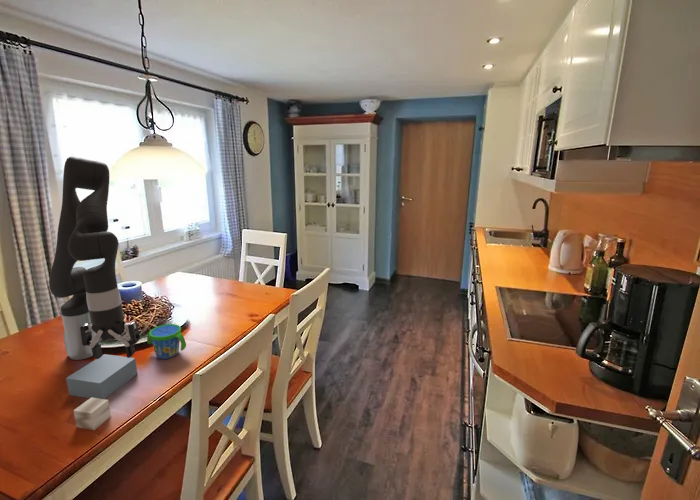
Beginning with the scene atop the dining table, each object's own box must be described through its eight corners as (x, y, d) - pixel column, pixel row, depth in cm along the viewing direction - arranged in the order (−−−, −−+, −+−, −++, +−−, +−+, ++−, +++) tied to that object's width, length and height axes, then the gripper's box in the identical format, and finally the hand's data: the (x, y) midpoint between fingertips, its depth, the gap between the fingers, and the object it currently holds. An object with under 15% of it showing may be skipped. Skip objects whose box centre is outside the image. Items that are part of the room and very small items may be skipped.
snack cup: (194, 352, 134) (192, 328, 131) (171, 366, 124) (169, 341, 122) (164, 343, 139) (161, 320, 136) (140, 356, 130) (137, 332, 127)
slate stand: (69, 395, 108) (65, 378, 106) (106, 369, 121) (104, 354, 120) (102, 400, 106) (99, 383, 105) (137, 373, 119) (135, 358, 118)
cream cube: (76, 427, 95) (73, 410, 94) (94, 413, 101) (91, 397, 99) (94, 430, 95) (91, 413, 93) (110, 416, 100) (108, 399, 98)
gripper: (139, 298, 99) (147, 349, 103) (86, 299, 98) (96, 350, 102) (124, 309, 92) (134, 363, 96) (67, 310, 90) (79, 365, 95)
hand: (114, 356), depth 99 cm, fingers open, 8 cm apart
